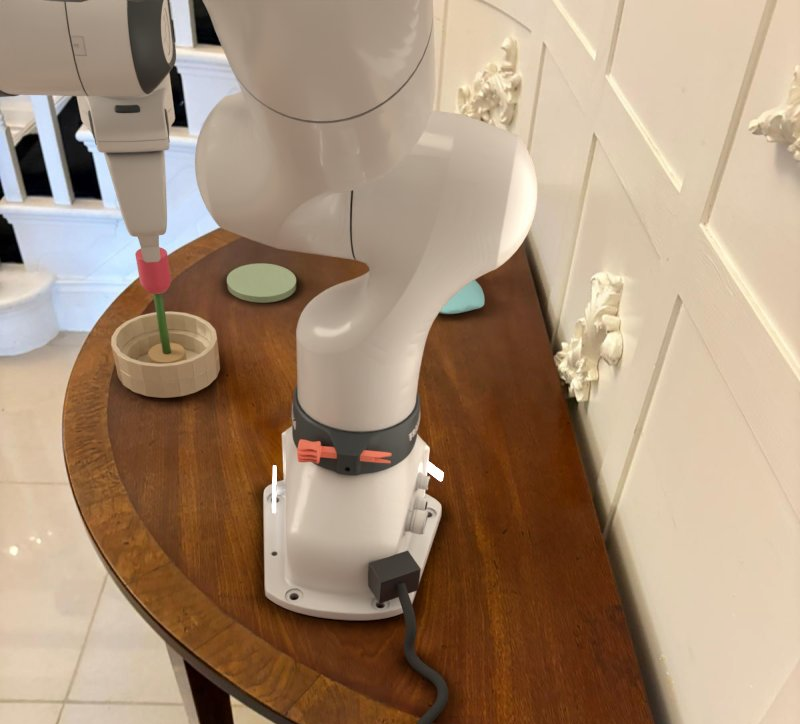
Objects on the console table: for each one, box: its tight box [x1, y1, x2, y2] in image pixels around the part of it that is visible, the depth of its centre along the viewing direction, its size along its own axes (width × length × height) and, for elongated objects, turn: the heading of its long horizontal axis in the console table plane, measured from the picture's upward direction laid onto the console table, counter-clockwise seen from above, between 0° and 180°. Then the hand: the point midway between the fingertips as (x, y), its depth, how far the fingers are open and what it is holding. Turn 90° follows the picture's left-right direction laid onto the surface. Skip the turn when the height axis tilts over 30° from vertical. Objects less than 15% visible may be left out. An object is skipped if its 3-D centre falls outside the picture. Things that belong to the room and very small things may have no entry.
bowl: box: [110, 310, 221, 399], centre depth 96 cm, size 12×12×5 cm
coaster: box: [226, 262, 297, 304], centre depth 114 cm, size 10×10×1 cm
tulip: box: [134, 246, 187, 364], centre depth 92 cm, size 4×4×15 cm
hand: (148, 238), depth 86 cm, fingers open, 8 cm apart
